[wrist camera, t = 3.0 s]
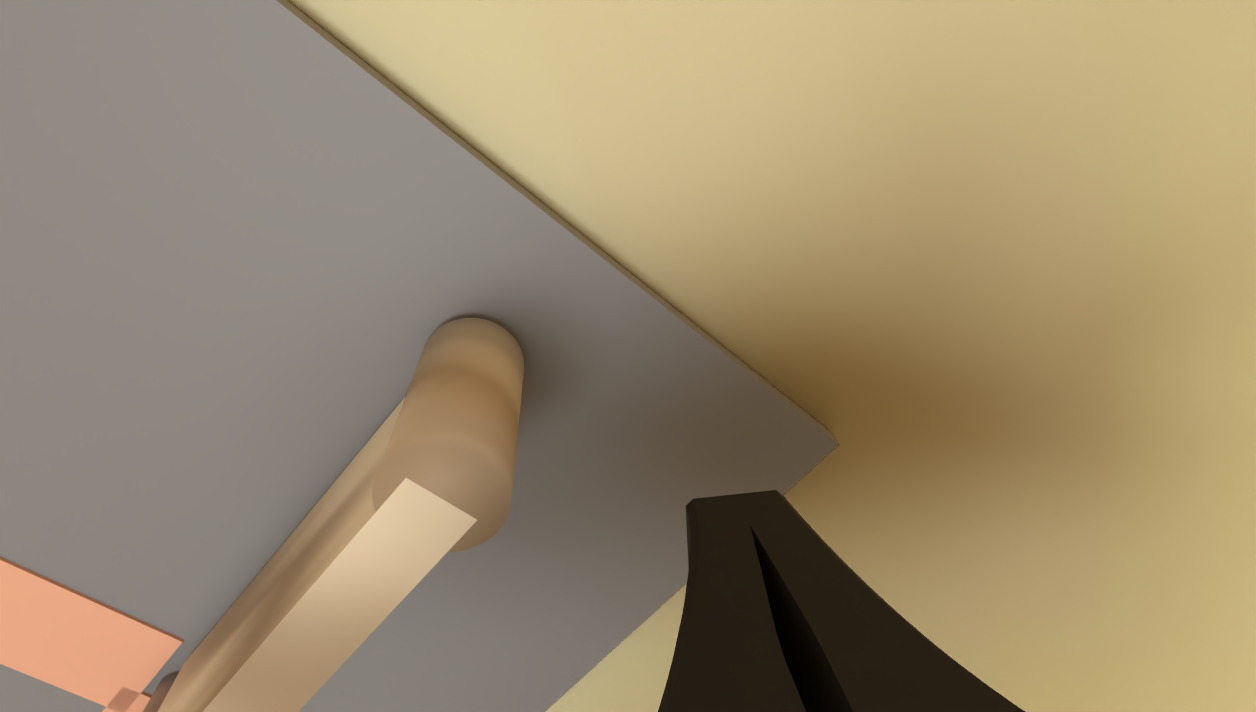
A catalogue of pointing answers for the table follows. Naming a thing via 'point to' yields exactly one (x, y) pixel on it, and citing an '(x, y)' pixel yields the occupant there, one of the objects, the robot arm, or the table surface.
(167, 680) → the fixed fence section
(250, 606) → the bar
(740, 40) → the table surface
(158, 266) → the mat
